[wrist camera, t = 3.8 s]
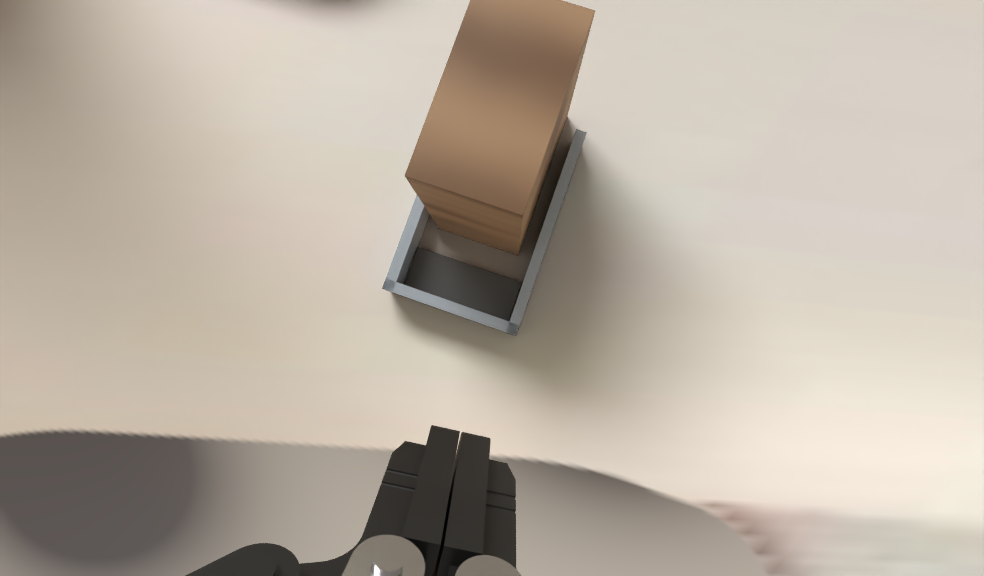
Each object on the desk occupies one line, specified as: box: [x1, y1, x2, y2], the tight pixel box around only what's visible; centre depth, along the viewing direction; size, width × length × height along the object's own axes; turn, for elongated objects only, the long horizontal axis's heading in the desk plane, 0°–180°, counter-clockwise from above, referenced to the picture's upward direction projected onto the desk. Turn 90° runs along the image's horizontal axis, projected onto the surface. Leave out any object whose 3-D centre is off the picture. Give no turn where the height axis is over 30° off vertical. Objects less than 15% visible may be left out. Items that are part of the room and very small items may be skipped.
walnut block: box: [405, 0, 595, 255], centre depth 26 cm, size 9×5×10 cm, turn 161°
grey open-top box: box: [382, 129, 587, 336], centre depth 29 cm, size 12×8×2 cm, turn 161°
